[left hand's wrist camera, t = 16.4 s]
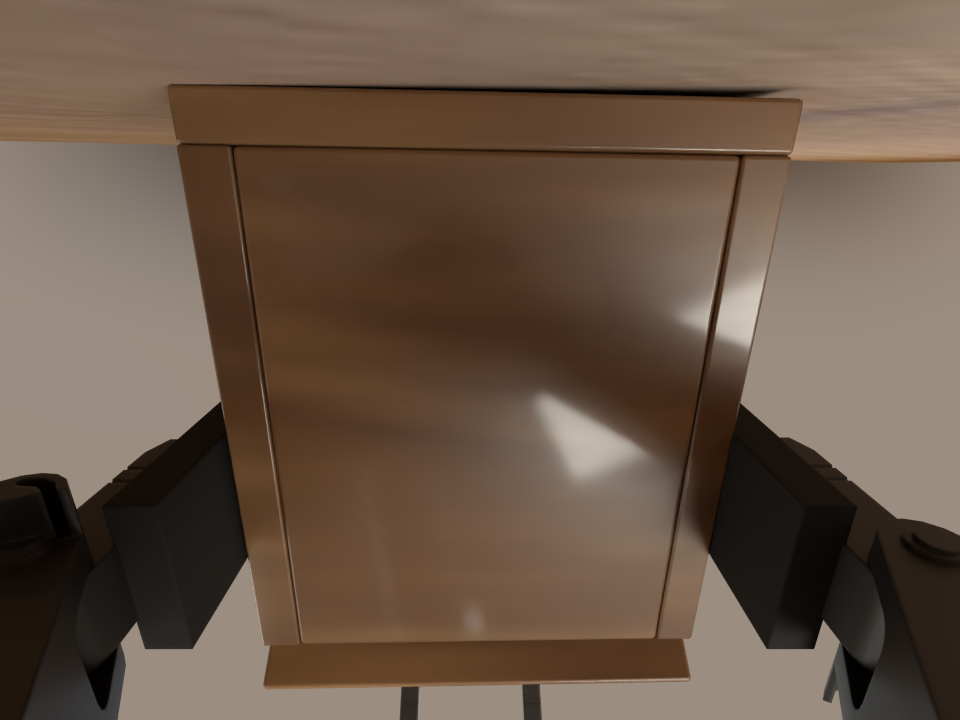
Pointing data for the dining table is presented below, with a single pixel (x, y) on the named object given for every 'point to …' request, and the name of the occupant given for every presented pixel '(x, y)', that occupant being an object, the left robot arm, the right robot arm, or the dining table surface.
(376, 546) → the chest
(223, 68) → the dining table surface
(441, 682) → the lid
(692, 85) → the dining table surface
